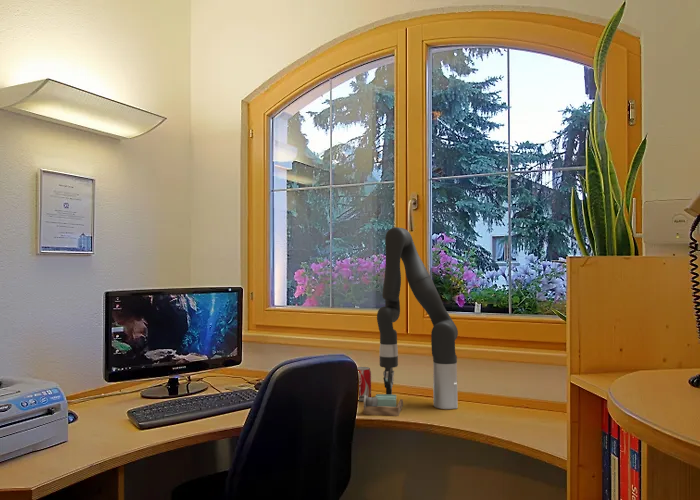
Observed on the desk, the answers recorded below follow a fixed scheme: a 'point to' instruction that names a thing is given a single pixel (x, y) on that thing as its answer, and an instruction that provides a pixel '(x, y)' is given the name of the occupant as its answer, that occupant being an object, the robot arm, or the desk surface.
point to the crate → (386, 400)
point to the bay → (380, 407)
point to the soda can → (364, 382)
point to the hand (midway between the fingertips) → (389, 397)
